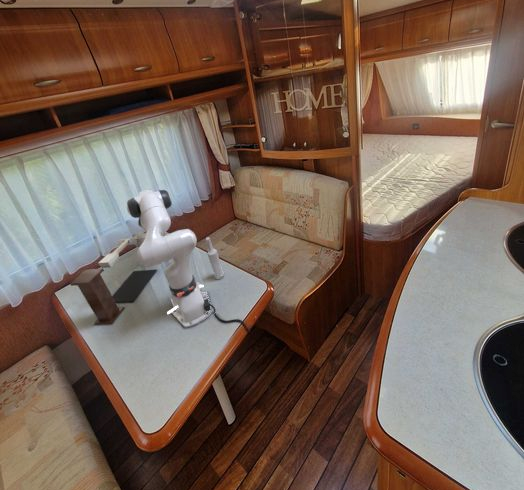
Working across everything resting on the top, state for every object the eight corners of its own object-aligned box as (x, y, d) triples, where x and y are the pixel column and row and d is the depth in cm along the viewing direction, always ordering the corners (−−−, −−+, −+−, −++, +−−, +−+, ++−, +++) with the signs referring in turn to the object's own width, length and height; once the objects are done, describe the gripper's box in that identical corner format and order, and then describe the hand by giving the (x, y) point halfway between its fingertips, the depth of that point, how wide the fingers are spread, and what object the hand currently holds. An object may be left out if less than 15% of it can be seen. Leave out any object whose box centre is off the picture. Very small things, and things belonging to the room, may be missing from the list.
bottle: (222, 279, 146) (210, 241, 136) (213, 279, 148) (201, 241, 137) (225, 273, 151) (214, 235, 141) (217, 273, 152) (205, 236, 142)
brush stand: (112, 324, 131) (88, 282, 121) (94, 324, 133) (69, 283, 123) (124, 308, 140) (103, 268, 130) (107, 308, 142) (85, 269, 132)
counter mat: (133, 302, 143) (132, 301, 143) (107, 303, 147) (106, 302, 146) (156, 270, 167) (156, 269, 166) (134, 272, 170) (133, 271, 169)
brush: (111, 267, 137) (108, 262, 136) (100, 268, 139) (98, 263, 137) (134, 243, 157) (132, 238, 156) (125, 244, 158) (123, 239, 157)
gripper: (126, 236, 170) (110, 237, 157) (155, 233, 166) (141, 234, 153) (127, 246, 170) (110, 248, 156) (156, 244, 166) (142, 246, 152)
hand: (126, 241), depth 154 cm, fingers closed on brush, 2 cm apart
